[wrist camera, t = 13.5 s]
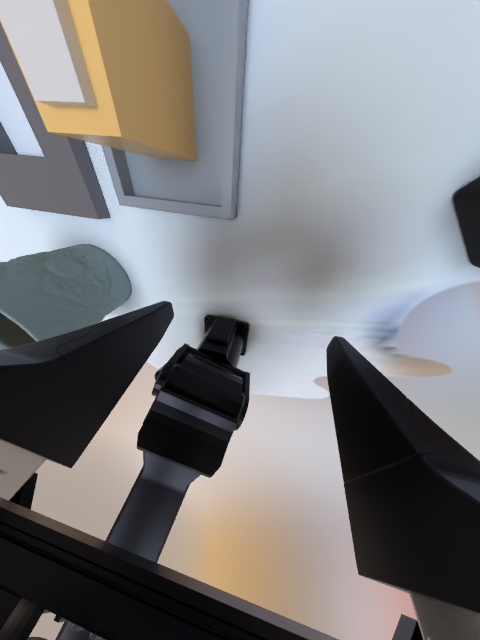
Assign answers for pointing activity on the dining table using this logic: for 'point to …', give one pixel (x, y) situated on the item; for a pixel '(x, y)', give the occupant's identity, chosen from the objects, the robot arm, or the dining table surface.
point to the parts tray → (197, 122)
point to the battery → (470, 218)
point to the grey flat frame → (46, 161)
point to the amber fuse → (107, 71)
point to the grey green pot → (58, 293)
